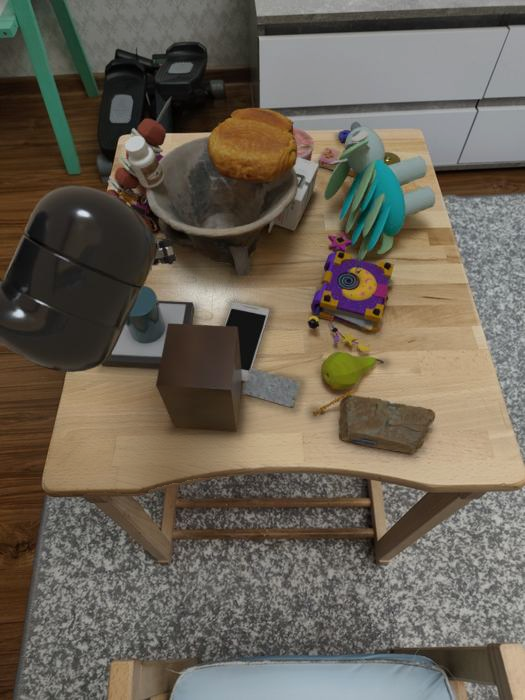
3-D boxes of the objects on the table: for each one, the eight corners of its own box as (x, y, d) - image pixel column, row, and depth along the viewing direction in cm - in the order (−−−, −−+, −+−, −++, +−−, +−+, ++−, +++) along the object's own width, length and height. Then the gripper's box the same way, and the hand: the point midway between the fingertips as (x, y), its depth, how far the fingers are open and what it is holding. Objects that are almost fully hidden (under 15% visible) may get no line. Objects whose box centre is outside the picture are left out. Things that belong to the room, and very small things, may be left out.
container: (309, 191, 104) (312, 160, 97) (261, 188, 104) (261, 157, 98) (311, 160, 109) (315, 128, 102) (266, 157, 110) (266, 125, 103)
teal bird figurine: (422, 92, 85) (337, 113, 80) (454, 232, 90) (377, 261, 85) (378, 120, 98) (303, 140, 93) (409, 242, 103) (339, 266, 98)
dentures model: (124, 238, 91) (128, 209, 96) (129, 253, 95) (132, 225, 99) (154, 237, 92) (156, 208, 96) (157, 253, 95) (159, 224, 100)
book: (294, 337, 84) (299, 295, 74) (329, 238, 97) (336, 190, 86) (376, 359, 82) (392, 318, 72) (400, 255, 94) (417, 207, 84)
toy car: (139, 193, 88) (132, 217, 89) (178, 205, 99) (171, 226, 100) (117, 183, 90) (110, 207, 91) (157, 196, 101) (151, 217, 102)
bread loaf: (197, 148, 76) (199, 185, 83) (293, 169, 75) (287, 204, 82) (219, 89, 82) (220, 128, 89) (308, 108, 81) (301, 146, 89)
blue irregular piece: (334, 137, 114) (335, 127, 112) (348, 129, 115) (349, 119, 113) (362, 157, 110) (364, 147, 108) (376, 148, 112) (378, 139, 109)
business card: (300, 381, 80) (301, 380, 80) (293, 408, 77) (293, 406, 77) (249, 368, 81) (249, 367, 81) (240, 394, 79) (240, 393, 78)
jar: (126, 342, 81) (113, 315, 74) (133, 312, 84) (121, 284, 78) (162, 344, 81) (152, 317, 74) (168, 314, 84) (159, 286, 77)
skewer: (105, 224, 104) (175, 97, 93) (114, 236, 102) (187, 108, 91) (84, 217, 100) (155, 83, 89) (93, 230, 98) (167, 95, 87)
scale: (102, 366, 82) (98, 358, 80) (119, 305, 89) (115, 296, 86) (183, 370, 81) (181, 362, 79) (194, 308, 88) (192, 300, 86)
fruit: (314, 350, 78) (370, 334, 83) (313, 383, 80) (368, 365, 86) (339, 366, 73) (397, 347, 78) (337, 400, 75) (393, 380, 81)
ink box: (312, 195, 104) (289, 242, 97) (291, 188, 104) (267, 234, 97) (320, 163, 96) (296, 212, 89) (297, 155, 97) (271, 203, 90)
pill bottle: (155, 191, 82) (137, 156, 75) (135, 185, 83) (116, 149, 77) (169, 173, 83) (153, 136, 76) (149, 167, 85) (131, 130, 78)
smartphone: (207, 374, 81) (207, 372, 80) (232, 304, 89) (232, 301, 88) (248, 384, 80) (247, 381, 80) (269, 311, 88) (269, 308, 87)
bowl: (223, 176, 107) (218, 113, 94) (319, 231, 98) (327, 169, 85) (133, 245, 96) (113, 184, 83) (231, 313, 87) (226, 257, 74)
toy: (318, 158, 107) (326, 145, 109) (317, 165, 108) (325, 153, 111) (370, 174, 104) (377, 160, 106) (368, 181, 106) (375, 168, 108)
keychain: (315, 414, 77) (315, 418, 77) (311, 409, 77) (311, 413, 76) (356, 391, 74) (356, 395, 73) (352, 386, 74) (352, 390, 73)
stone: (428, 420, 76) (437, 405, 72) (427, 459, 73) (437, 445, 68) (339, 404, 78) (343, 388, 74) (334, 441, 75) (338, 426, 70)
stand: (174, 428, 76) (155, 385, 63) (183, 373, 81) (168, 323, 68) (236, 431, 76) (231, 389, 63) (242, 376, 81) (237, 326, 68)
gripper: (168, 209, 44) (163, 218, 59) (7, 245, 41) (46, 245, 57) (189, 288, 46) (179, 277, 61) (37, 327, 43) (67, 306, 59)
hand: (115, 262), depth 59 cm, fingers open, 8 cm apart
